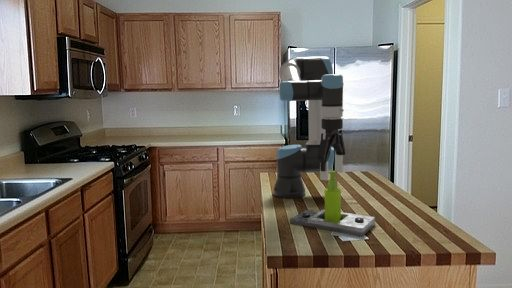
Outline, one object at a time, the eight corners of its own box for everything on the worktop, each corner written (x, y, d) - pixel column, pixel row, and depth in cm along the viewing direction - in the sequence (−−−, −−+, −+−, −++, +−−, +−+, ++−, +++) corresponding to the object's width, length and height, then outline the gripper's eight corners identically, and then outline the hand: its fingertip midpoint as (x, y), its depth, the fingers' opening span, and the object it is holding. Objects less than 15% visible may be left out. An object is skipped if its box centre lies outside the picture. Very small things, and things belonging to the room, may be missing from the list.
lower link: (289, 222, 153) (289, 217, 152) (305, 213, 164) (305, 208, 163) (341, 232, 141) (341, 226, 141) (355, 221, 152) (355, 215, 152)
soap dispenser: (320, 221, 153) (320, 170, 150) (338, 220, 154) (338, 169, 151) (324, 227, 147) (324, 173, 144) (342, 226, 148) (343, 172, 145)
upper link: (307, 226, 148) (307, 216, 148) (323, 216, 160) (323, 207, 159) (362, 236, 137) (362, 226, 137) (374, 224, 148) (374, 215, 148)
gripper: (327, 121, 133) (327, 184, 136) (354, 115, 153) (353, 170, 157) (307, 121, 137) (307, 182, 140) (335, 114, 157) (335, 168, 161)
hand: (331, 175), depth 148 cm, fingers open, 13 cm apart
